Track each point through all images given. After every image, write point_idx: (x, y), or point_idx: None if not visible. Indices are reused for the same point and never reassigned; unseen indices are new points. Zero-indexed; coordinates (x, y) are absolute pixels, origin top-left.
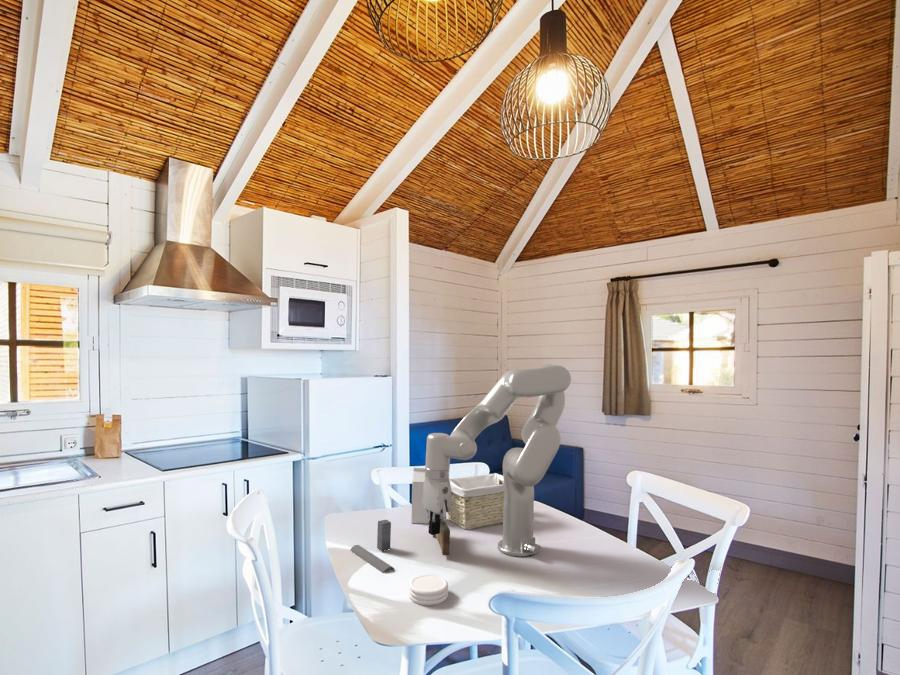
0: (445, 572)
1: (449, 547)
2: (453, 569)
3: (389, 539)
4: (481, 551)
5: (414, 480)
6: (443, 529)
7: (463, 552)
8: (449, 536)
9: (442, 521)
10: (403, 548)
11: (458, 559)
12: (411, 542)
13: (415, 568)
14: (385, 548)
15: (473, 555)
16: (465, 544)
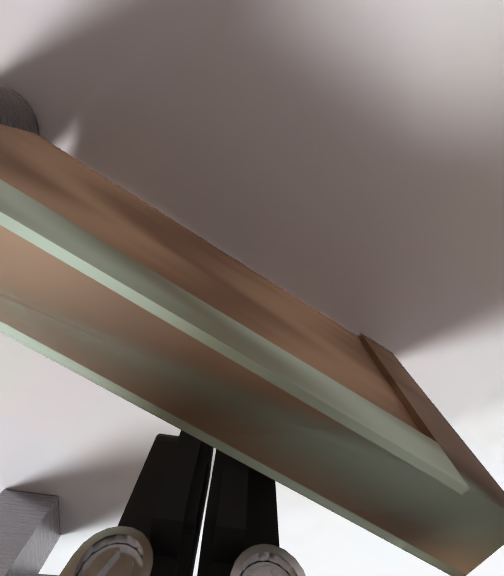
0: (484, 465)
1: (415, 383)
2: (497, 414)
3: (14, 565)
4: (481, 38)
5: None
6: (432, 558)
7: (379, 184)
8: (469, 455)
9: (168, 372)
10: (76, 437)
11: (431, 299)
12: (14, 350)
13: (331, 533)
14: (50, 532)
15: (474, 162)
16: (277, 40)
